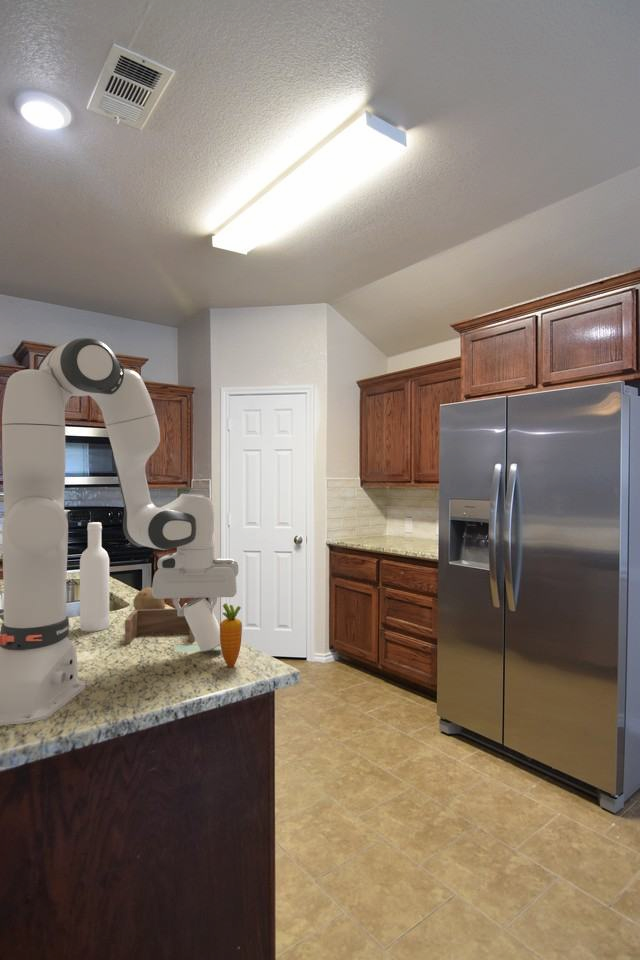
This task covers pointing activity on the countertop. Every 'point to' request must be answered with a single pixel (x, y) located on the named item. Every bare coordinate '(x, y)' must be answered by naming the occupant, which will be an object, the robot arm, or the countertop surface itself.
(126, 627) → the brown wooden u-shaped frame
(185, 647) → the mat
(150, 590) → the natural sponge
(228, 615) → the carrot
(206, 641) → the can
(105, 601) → the bottle
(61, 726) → the countertop surface
